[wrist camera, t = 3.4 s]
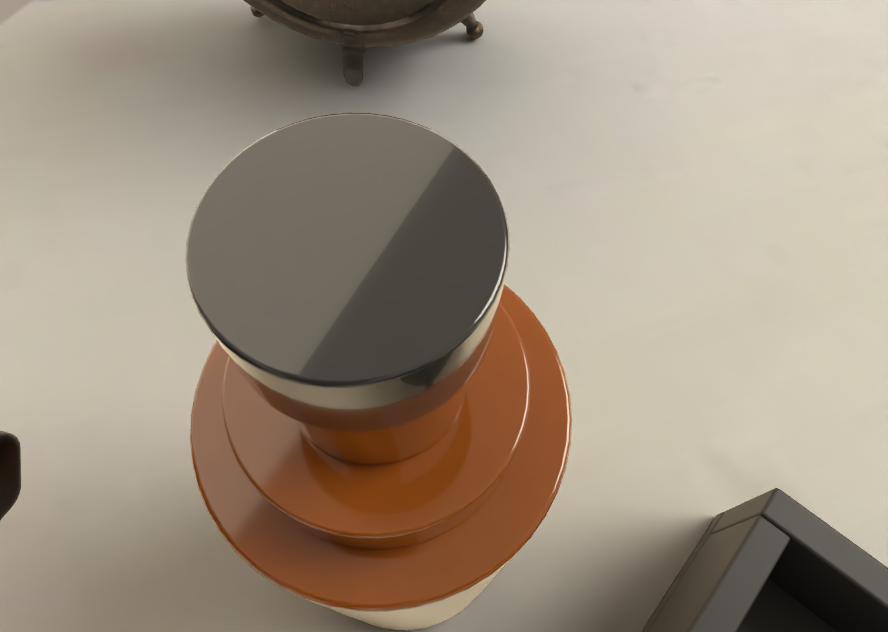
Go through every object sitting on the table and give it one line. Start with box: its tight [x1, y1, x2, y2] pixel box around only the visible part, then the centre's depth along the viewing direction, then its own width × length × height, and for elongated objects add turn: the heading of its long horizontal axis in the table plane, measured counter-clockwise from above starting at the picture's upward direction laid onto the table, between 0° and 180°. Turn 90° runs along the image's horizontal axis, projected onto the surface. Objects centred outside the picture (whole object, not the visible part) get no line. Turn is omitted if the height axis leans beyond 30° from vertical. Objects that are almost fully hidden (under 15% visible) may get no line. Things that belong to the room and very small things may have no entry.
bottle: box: [186, 113, 572, 630], centre depth 12 cm, size 5×5×14 cm
